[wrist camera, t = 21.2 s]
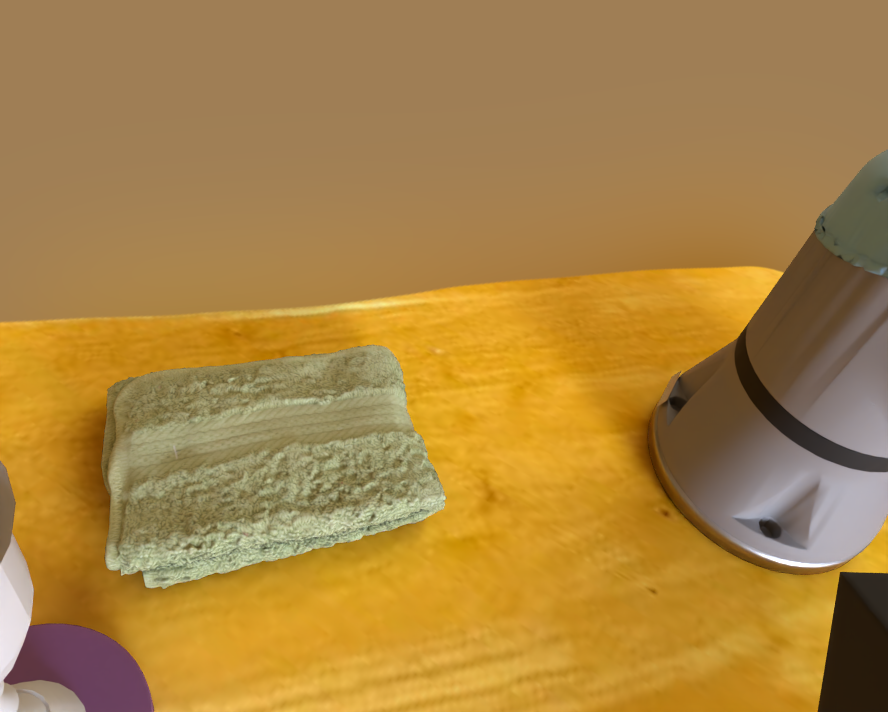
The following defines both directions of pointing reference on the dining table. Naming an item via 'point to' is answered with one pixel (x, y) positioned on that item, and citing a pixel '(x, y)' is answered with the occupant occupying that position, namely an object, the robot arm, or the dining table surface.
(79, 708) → the chalice
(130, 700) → the lid
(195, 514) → the washcloth
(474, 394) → the dining table surface
